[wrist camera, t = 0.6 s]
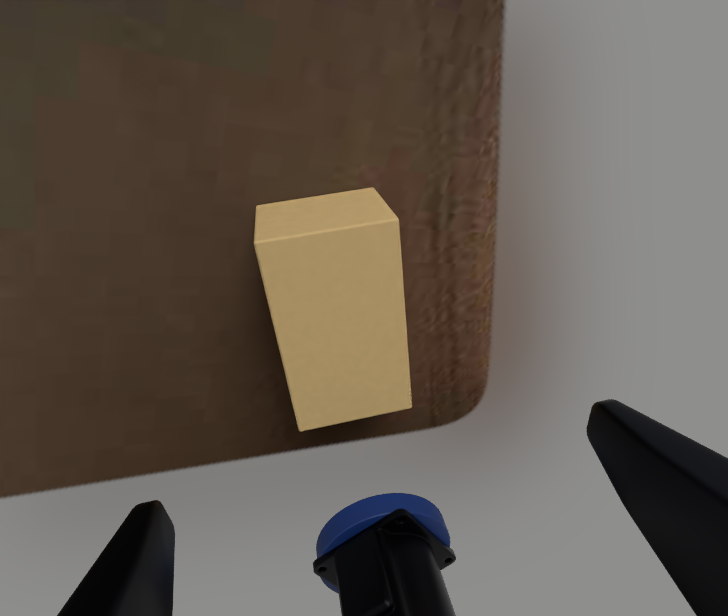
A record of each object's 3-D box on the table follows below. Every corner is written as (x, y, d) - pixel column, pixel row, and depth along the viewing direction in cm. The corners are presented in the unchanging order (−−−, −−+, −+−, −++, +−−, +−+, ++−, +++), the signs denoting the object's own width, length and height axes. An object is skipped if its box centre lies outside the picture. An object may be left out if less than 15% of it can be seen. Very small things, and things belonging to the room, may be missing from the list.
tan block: (389, 353, 22) (412, 408, 18) (293, 371, 21) (299, 433, 18) (373, 186, 18) (399, 218, 15) (255, 205, 17) (252, 242, 14)
